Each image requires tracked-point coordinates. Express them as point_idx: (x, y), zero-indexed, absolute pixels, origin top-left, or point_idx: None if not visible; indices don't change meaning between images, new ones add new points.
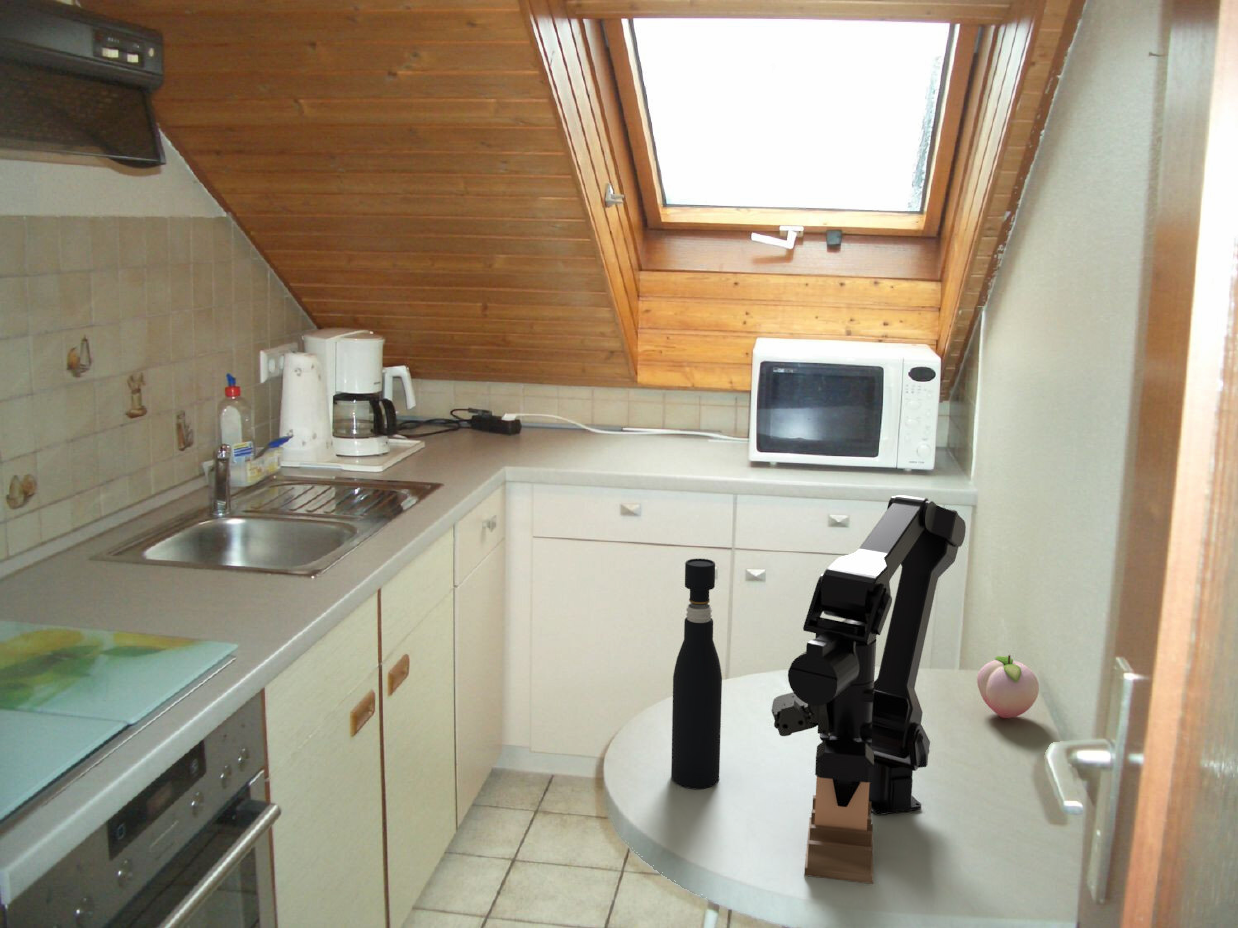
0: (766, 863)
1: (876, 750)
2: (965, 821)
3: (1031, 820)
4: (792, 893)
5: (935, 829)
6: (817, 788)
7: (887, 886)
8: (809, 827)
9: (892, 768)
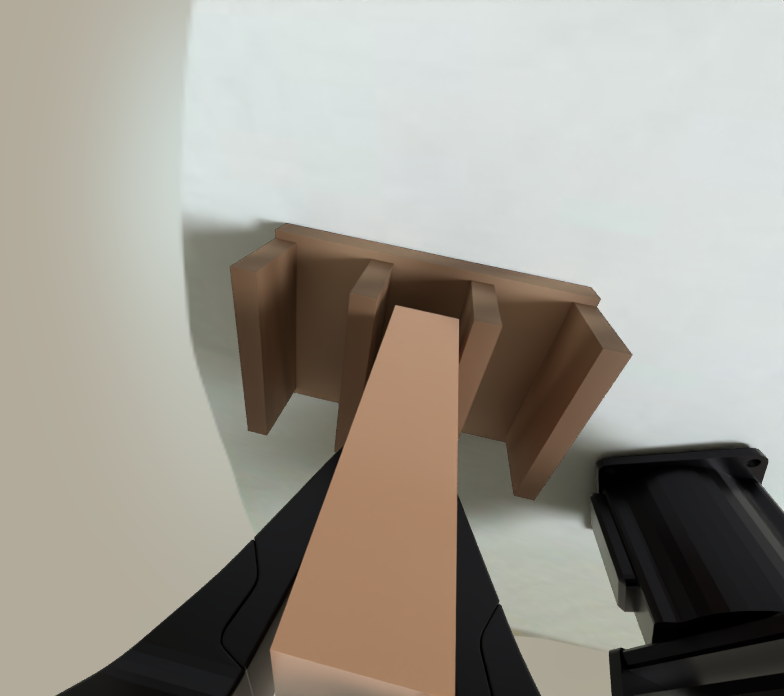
0: (335, 87)
1: (730, 690)
2: (533, 564)
3: (520, 619)
4: (185, 171)
5: (510, 523)
6: (351, 429)
7: None
8: (527, 286)
9: (651, 624)
